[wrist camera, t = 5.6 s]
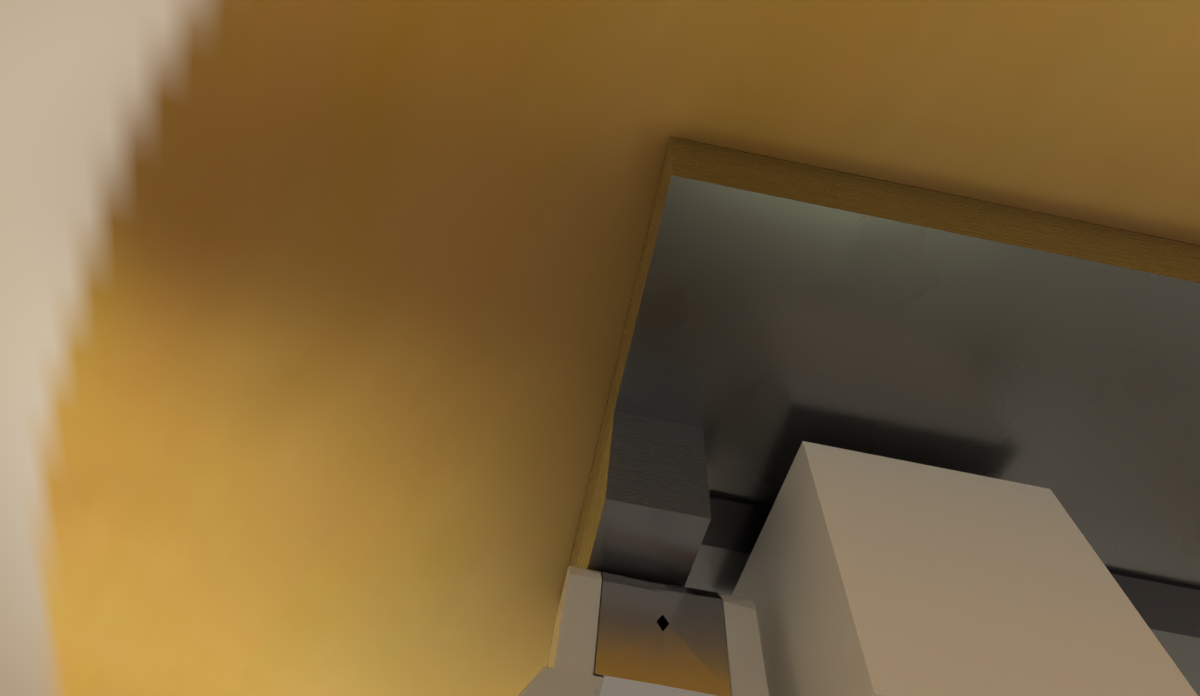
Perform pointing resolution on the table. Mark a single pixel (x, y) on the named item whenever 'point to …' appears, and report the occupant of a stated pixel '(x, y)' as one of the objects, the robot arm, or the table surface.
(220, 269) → the table surface
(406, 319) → the table surface
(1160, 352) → the fader console
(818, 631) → the fader knob
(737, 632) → the robot arm
